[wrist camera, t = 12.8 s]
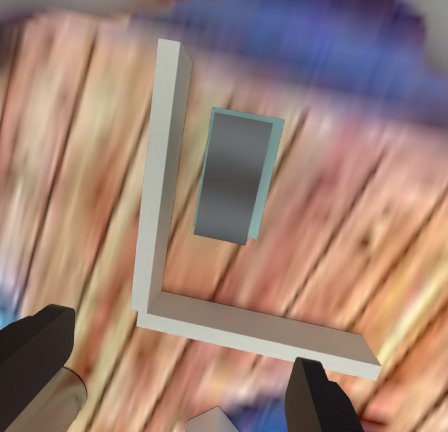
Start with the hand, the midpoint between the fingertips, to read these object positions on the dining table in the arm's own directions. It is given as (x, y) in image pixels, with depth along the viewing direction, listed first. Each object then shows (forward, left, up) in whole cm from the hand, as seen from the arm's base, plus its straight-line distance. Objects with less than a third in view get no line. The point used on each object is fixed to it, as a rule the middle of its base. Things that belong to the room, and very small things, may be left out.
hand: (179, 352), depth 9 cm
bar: (0, +5, -22) cm, 22 cm away
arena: (+6, +1, -22) cm, 23 cm away
